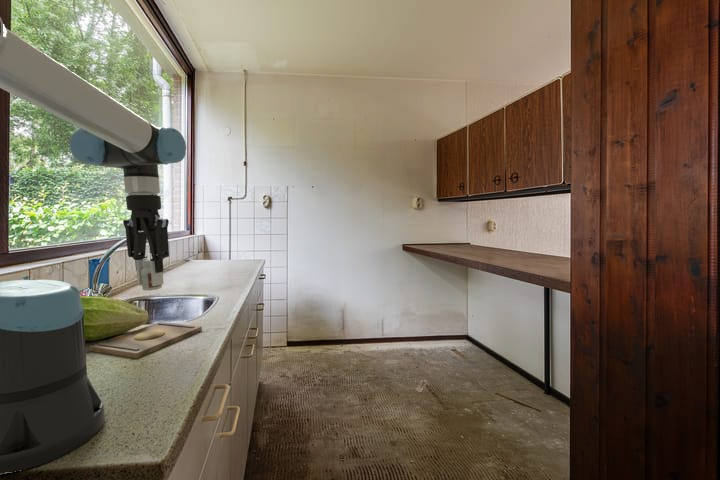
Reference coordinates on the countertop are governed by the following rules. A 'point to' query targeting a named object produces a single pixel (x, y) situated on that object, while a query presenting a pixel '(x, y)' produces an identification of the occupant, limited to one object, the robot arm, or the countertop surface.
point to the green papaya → (109, 317)
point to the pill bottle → (147, 277)
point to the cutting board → (145, 339)
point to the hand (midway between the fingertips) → (150, 284)
